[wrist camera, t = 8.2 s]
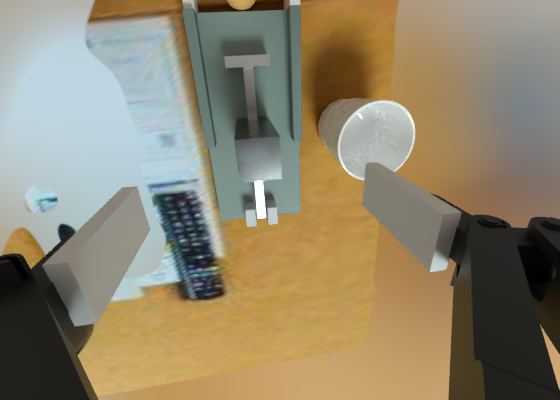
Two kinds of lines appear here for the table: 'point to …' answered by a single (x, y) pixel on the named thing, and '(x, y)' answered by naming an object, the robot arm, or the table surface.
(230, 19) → the grey-green piece
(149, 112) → the table surface
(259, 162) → the grey t-handle tool
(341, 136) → the white cup
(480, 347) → the robot arm
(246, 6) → the ball
